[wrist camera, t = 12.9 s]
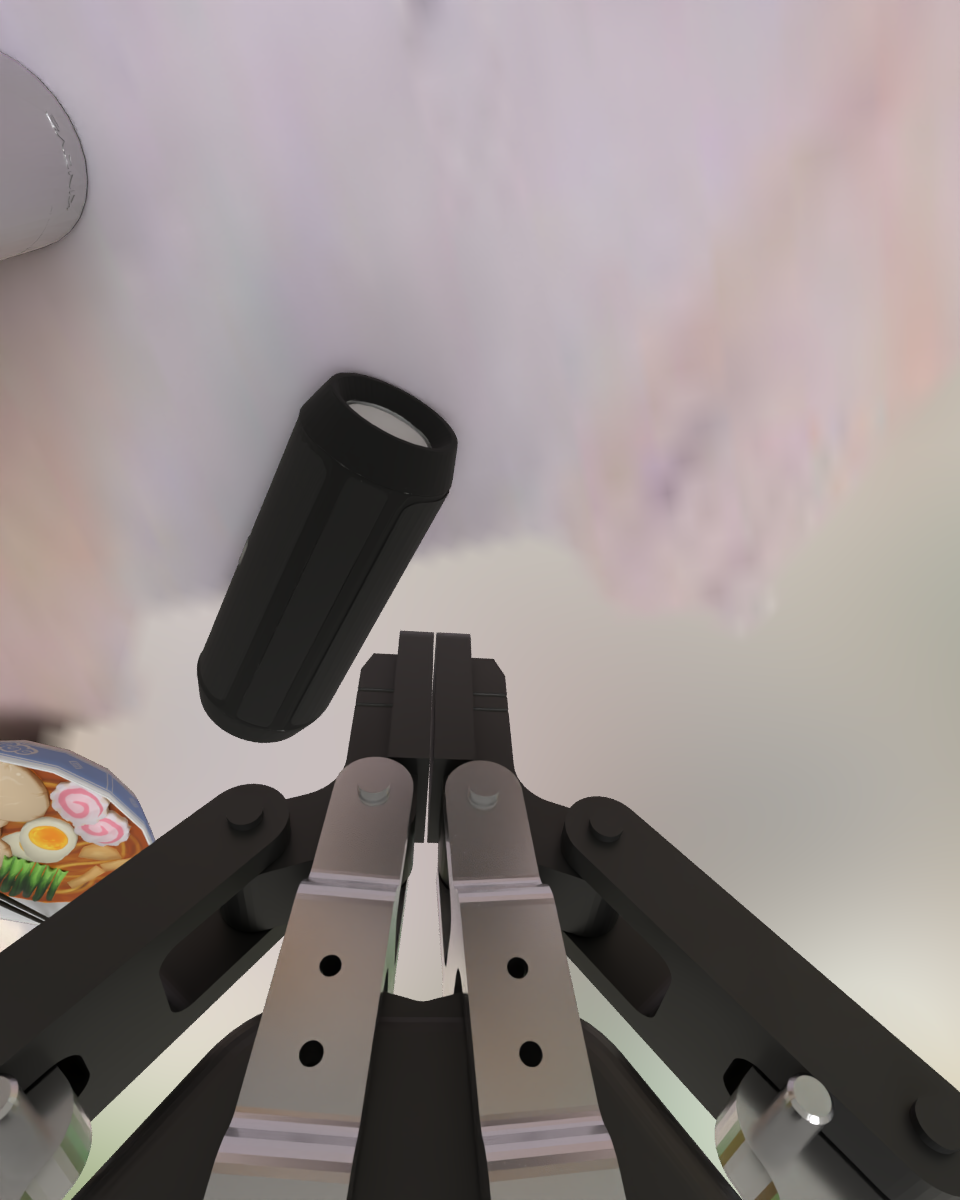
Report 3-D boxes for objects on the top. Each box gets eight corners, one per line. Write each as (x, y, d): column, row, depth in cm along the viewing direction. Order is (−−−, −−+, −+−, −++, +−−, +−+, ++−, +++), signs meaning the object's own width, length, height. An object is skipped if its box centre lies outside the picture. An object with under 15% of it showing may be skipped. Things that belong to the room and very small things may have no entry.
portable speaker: (329, 346, 43) (300, 400, 35) (469, 418, 46) (474, 484, 38) (209, 636, 56) (168, 726, 47) (326, 679, 58) (306, 770, 50)
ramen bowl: (245, 805, 67) (222, 881, 60) (87, 888, 74) (51, 966, 67) (16, 638, 55) (-45, 710, 48) (-148, 756, 61) (-221, 834, 55)
